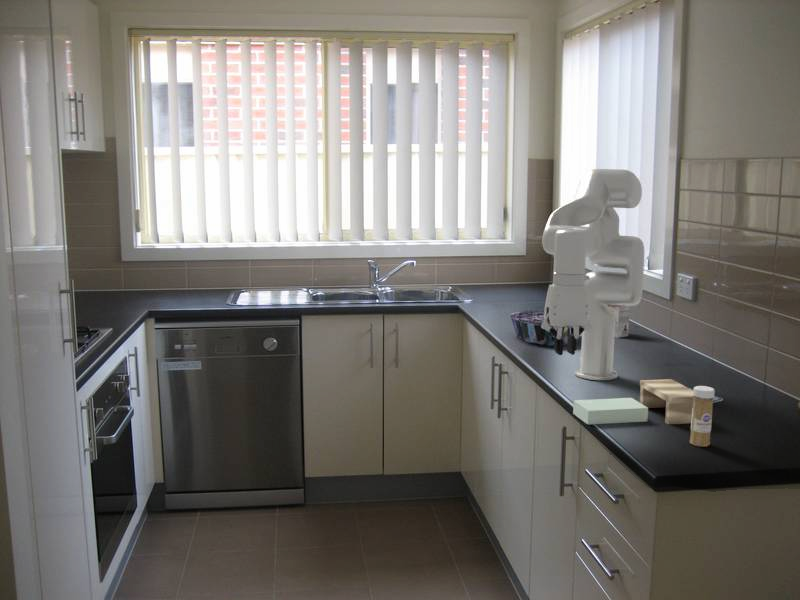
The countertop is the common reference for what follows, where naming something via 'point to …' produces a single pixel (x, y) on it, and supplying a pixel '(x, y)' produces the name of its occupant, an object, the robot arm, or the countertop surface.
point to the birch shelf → (668, 399)
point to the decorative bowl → (535, 328)
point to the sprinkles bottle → (701, 416)
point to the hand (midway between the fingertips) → (564, 353)
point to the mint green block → (610, 411)
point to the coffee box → (621, 319)
